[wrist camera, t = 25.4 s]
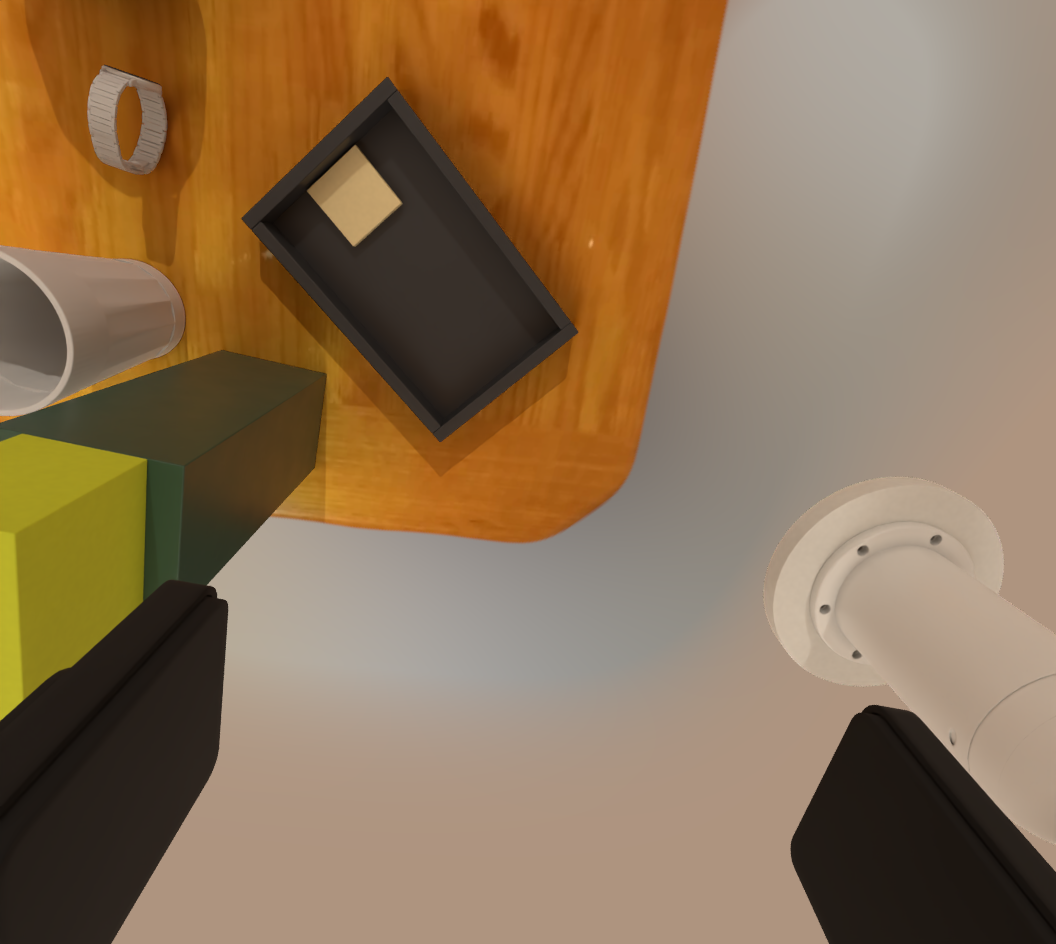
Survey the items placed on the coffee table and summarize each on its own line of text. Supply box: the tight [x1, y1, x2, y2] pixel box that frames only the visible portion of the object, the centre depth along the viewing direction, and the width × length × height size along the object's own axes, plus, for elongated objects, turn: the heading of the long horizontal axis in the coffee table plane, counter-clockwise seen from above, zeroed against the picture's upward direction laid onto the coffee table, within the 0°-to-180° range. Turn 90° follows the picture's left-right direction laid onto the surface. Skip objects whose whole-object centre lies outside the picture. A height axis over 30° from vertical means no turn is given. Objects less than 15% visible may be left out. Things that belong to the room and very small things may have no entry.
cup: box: [0, 245, 185, 416], centre depth 33 cm, size 8×8×12 cm
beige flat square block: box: [307, 145, 403, 246], centre depth 36 cm, size 4×4×1 cm
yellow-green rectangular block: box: [0, 434, 147, 721], centre depth 21 cm, size 4×7×6 cm, turn 166°
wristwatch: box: [87, 65, 167, 175], centre depth 33 cm, size 3×5×5 cm, turn 162°
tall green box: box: [0, 350, 326, 601], centre depth 33 cm, size 7×7×19 cm
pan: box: [242, 77, 578, 442], centre depth 37 cm, size 18×12×3 cm, turn 38°
